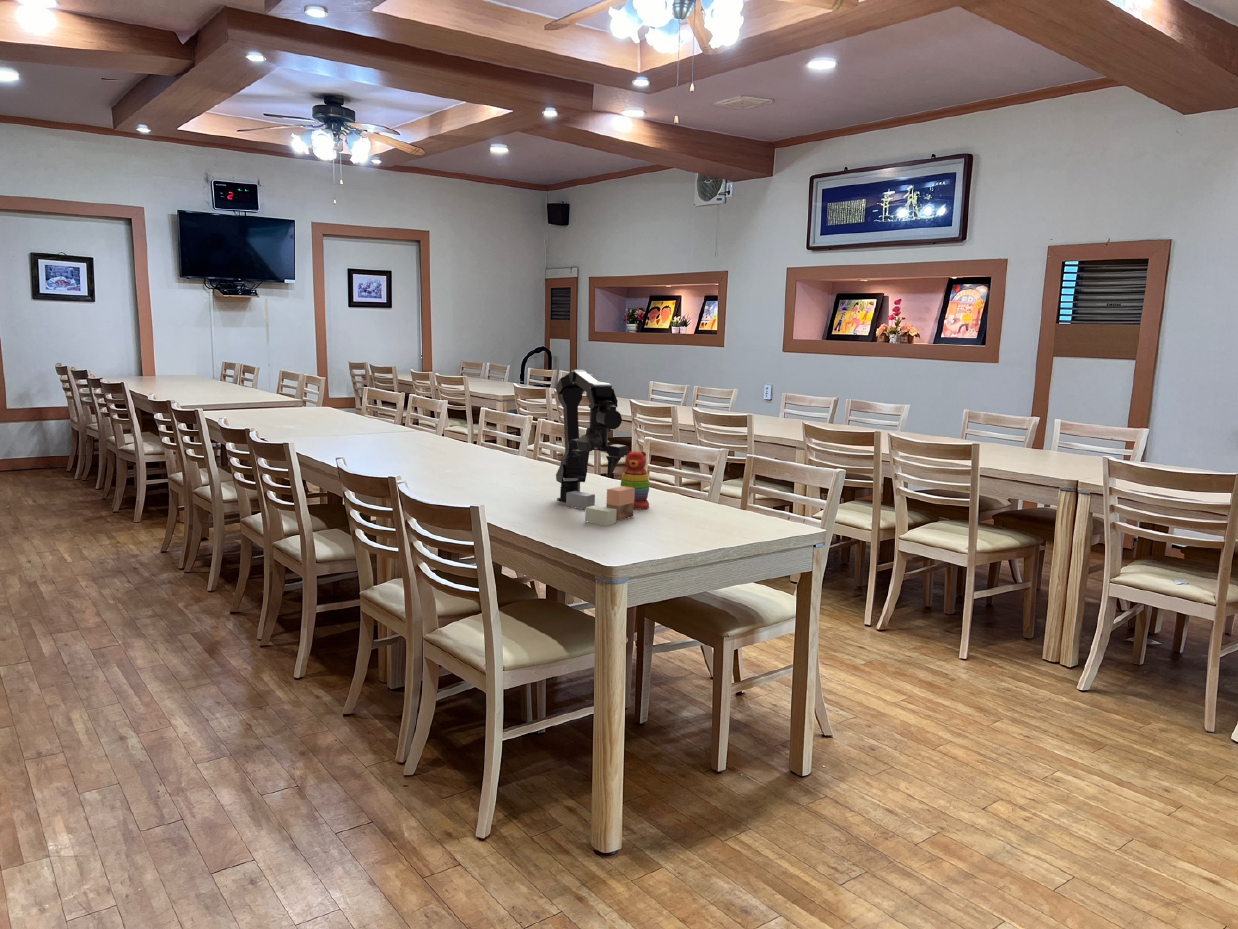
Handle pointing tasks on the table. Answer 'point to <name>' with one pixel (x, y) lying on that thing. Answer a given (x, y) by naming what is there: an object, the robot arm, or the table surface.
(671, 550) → the table surface
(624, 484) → the stacking bear
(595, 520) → the sage block
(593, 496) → the slate block
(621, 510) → the walnut block
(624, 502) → the terracotta block
